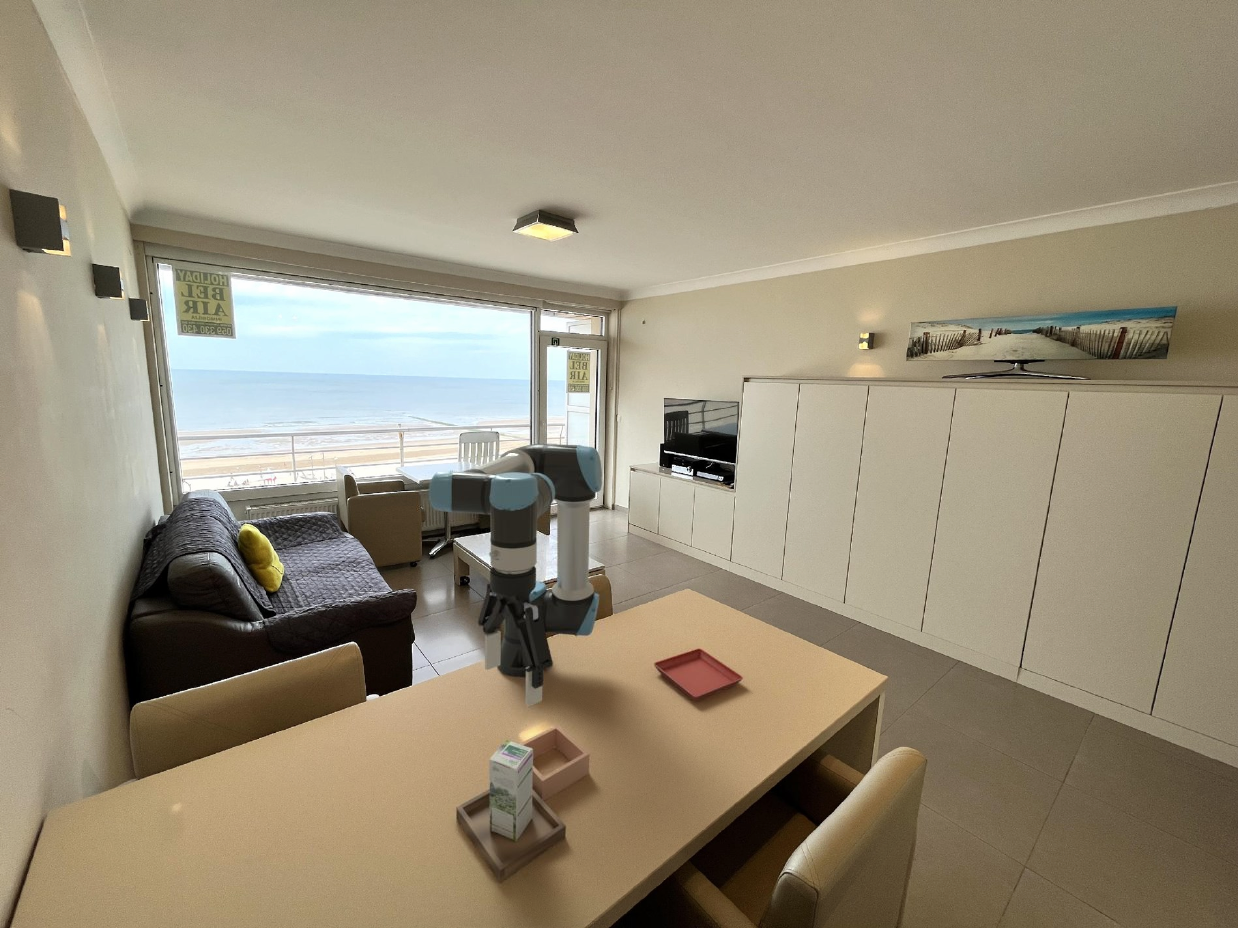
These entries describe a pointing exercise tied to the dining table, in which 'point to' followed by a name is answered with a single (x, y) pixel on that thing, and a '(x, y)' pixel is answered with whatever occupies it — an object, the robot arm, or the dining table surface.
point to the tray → (501, 850)
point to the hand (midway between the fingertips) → (512, 683)
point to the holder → (565, 773)
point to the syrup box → (511, 789)
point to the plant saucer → (697, 673)
